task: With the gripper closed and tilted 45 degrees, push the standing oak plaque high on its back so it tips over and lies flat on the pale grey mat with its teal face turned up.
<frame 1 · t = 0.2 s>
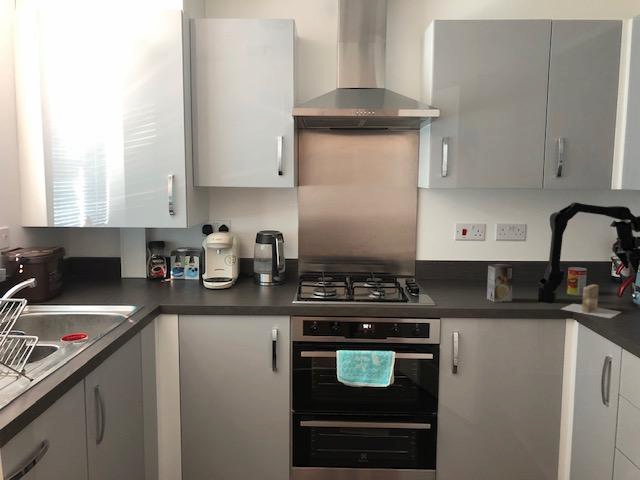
hand: (631, 270, 226), 15 cm above the worktop, tool pointing down, fingers open, 9 cm apart
mat: (590, 311, 216), on the worktop
plaque: (589, 310, 216), point 1 cm above the worktop, touching mat
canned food: (575, 293, 250), on the worktop
coffee box: (499, 300, 235), on the worktop
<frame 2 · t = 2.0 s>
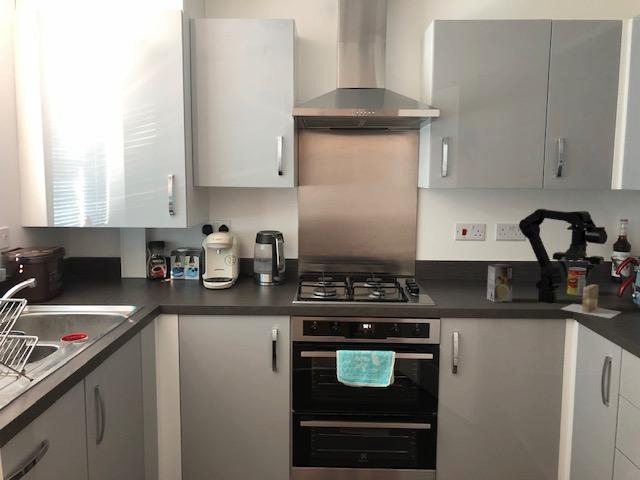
hand: (576, 278, 219), 13 cm above the worktop, tool pointing down, fingers open, 7 cm apart
nothing on the worktop moved.
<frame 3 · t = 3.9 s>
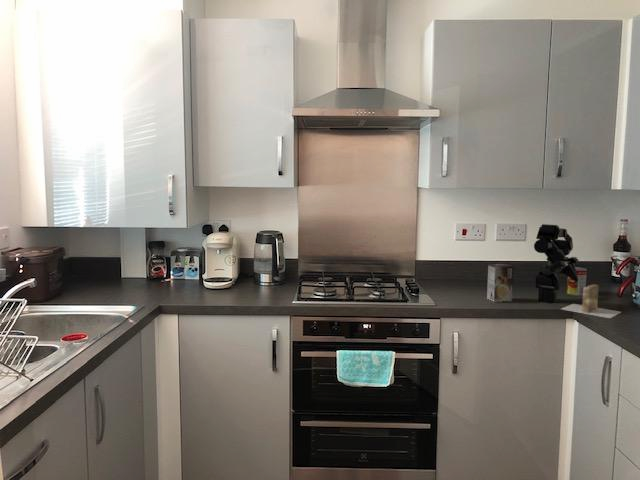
hand: (577, 281, 219), 12 cm above the worktop, tool tilted 45°, fingers closed
nothing on the worktop moved.
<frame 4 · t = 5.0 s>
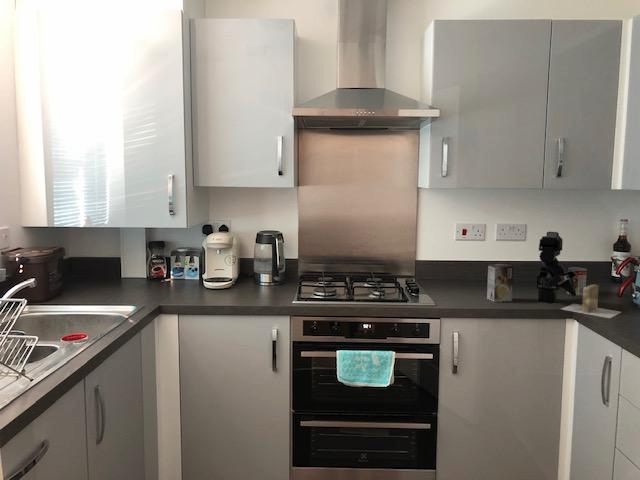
hand: (575, 295, 219), 6 cm above the worktop, tool tilted 40°, fingers closed
nothing on the worktop moved.
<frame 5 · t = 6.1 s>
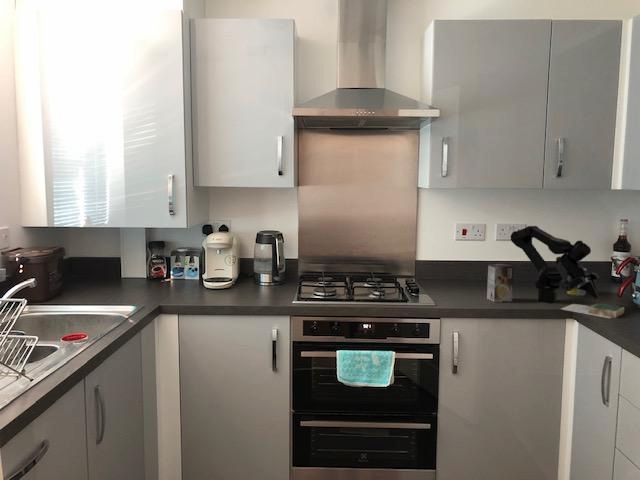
hand: (597, 298, 212), 6 cm above the worktop, tool tilted 40°, fingers closed
plaque: (593, 307, 215), point 2 cm above the worktop, tilted 90°, touching mat
everything else where it was.
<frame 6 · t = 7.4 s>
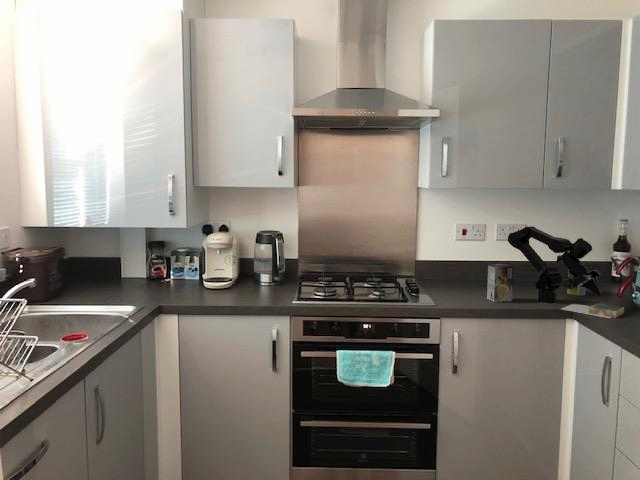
hand: (600, 295, 212), 8 cm above the worktop, tool tilted 45°, fingers closed
nothing on the worktop moved.
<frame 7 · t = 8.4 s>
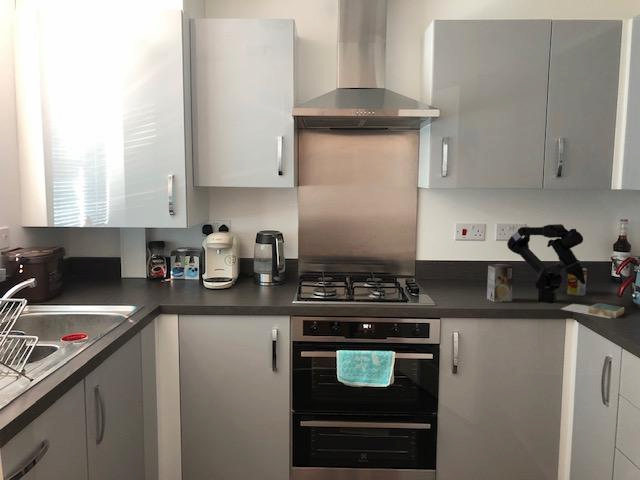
hand: (584, 284, 220), 11 cm above the worktop, tool tilted 35°, fingers closed
nothing on the worktop moved.
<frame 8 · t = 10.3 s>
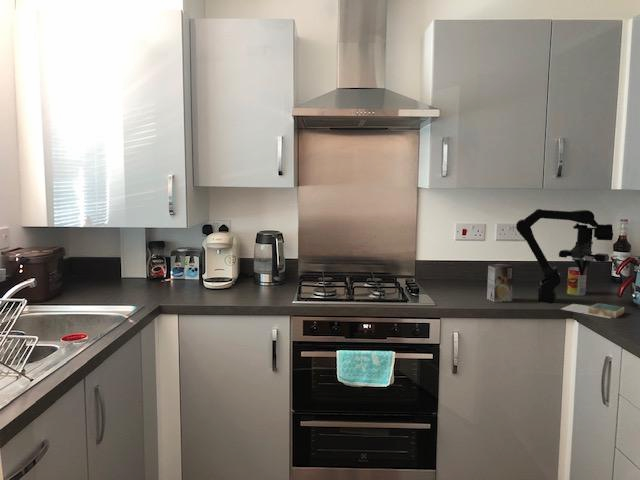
hand: (582, 275, 226), 13 cm above the worktop, tool pointing down, fingers closed
nothing on the worktop moved.
at the end: plaque tilted 90°; plaque inside the target area (2.2 cm from its centre), point 1.8 cm above the worktop; plaque touching mat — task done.
